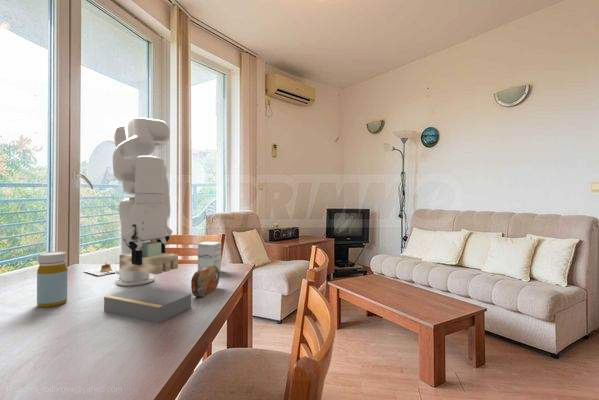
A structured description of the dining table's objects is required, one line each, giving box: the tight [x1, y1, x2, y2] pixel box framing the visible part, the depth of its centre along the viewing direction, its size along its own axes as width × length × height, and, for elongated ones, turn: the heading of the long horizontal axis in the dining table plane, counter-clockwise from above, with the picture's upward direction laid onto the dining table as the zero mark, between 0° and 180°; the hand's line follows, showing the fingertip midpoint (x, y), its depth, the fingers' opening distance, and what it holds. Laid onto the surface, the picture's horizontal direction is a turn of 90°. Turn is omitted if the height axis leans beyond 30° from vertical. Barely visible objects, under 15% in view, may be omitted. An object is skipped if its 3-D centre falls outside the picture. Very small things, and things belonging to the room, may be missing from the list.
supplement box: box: [197, 241, 222, 272], centre depth 132 cm, size 7×7×13 cm
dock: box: [103, 285, 192, 324], centre depth 88 cm, size 20×12×4 cm, turn 69°
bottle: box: [36, 251, 68, 309], centre depth 91 cm, size 7×7×15 cm
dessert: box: [83, 261, 119, 277], centre depth 130 cm, size 12×12×5 cm
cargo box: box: [136, 240, 161, 257], centre depth 88 cm, size 5×4×3 cm
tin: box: [190, 266, 220, 298], centre depth 104 cm, size 15×3×8 cm, turn 168°
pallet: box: [118, 252, 179, 275], centre depth 88 cm, size 14×8×4 cm, turn 69°
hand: (149, 261), depth 88 cm, fingers closed on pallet, 7 cm apart
